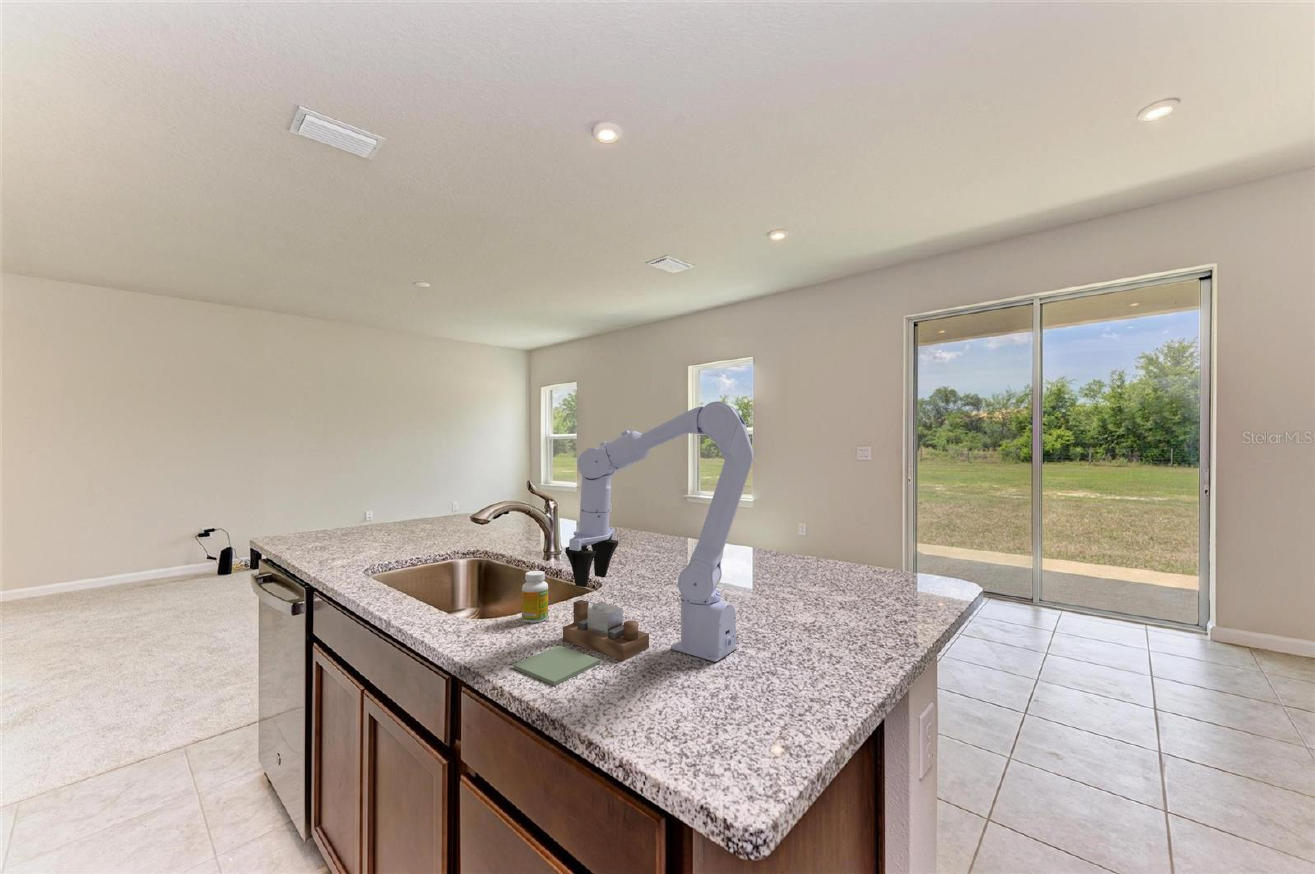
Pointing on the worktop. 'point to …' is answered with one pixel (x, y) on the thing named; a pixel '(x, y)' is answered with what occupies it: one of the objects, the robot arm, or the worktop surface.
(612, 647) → the plane body
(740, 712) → the worktop surface
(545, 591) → the supplement bottle
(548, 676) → the rubber mat
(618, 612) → the lever cap
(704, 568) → the robot arm
